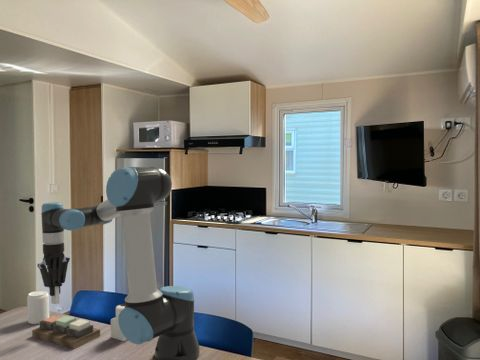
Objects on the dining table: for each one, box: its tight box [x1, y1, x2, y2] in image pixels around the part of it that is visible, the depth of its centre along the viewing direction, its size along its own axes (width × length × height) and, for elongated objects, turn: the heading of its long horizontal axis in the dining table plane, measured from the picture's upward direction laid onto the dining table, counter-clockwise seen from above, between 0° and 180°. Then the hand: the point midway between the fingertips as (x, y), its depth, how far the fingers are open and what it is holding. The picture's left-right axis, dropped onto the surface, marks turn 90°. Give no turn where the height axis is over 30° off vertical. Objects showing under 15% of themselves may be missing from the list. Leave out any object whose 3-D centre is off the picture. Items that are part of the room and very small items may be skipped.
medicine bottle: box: [110, 303, 128, 342], centre depth 153 cm, size 7×7×12 cm
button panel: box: [31, 315, 101, 350], centre depth 153 cm, size 23×12×5 cm, turn 62°
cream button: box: [69, 318, 91, 331], centre depth 149 cm, size 5×5×2 cm
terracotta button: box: [43, 315, 61, 324], centre depth 156 cm, size 5×5×2 cm
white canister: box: [26, 290, 50, 325], centre depth 168 cm, size 8×8×12 cm
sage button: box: [56, 315, 77, 327], centre depth 153 cm, size 5×5×2 cm
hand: (55, 303), depth 155 cm, fingers closed
